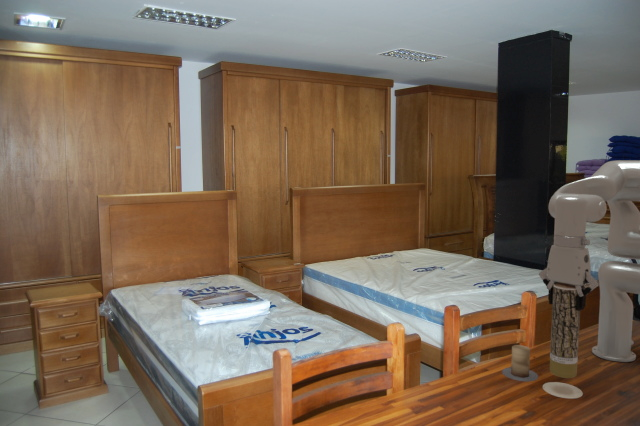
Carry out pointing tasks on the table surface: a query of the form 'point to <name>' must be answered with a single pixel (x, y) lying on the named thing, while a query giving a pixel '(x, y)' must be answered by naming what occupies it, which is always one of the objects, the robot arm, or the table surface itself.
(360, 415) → the table surface
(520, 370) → the beige rounded cylinder
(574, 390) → the cream pad
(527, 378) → the board
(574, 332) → the brown bark cylinder
